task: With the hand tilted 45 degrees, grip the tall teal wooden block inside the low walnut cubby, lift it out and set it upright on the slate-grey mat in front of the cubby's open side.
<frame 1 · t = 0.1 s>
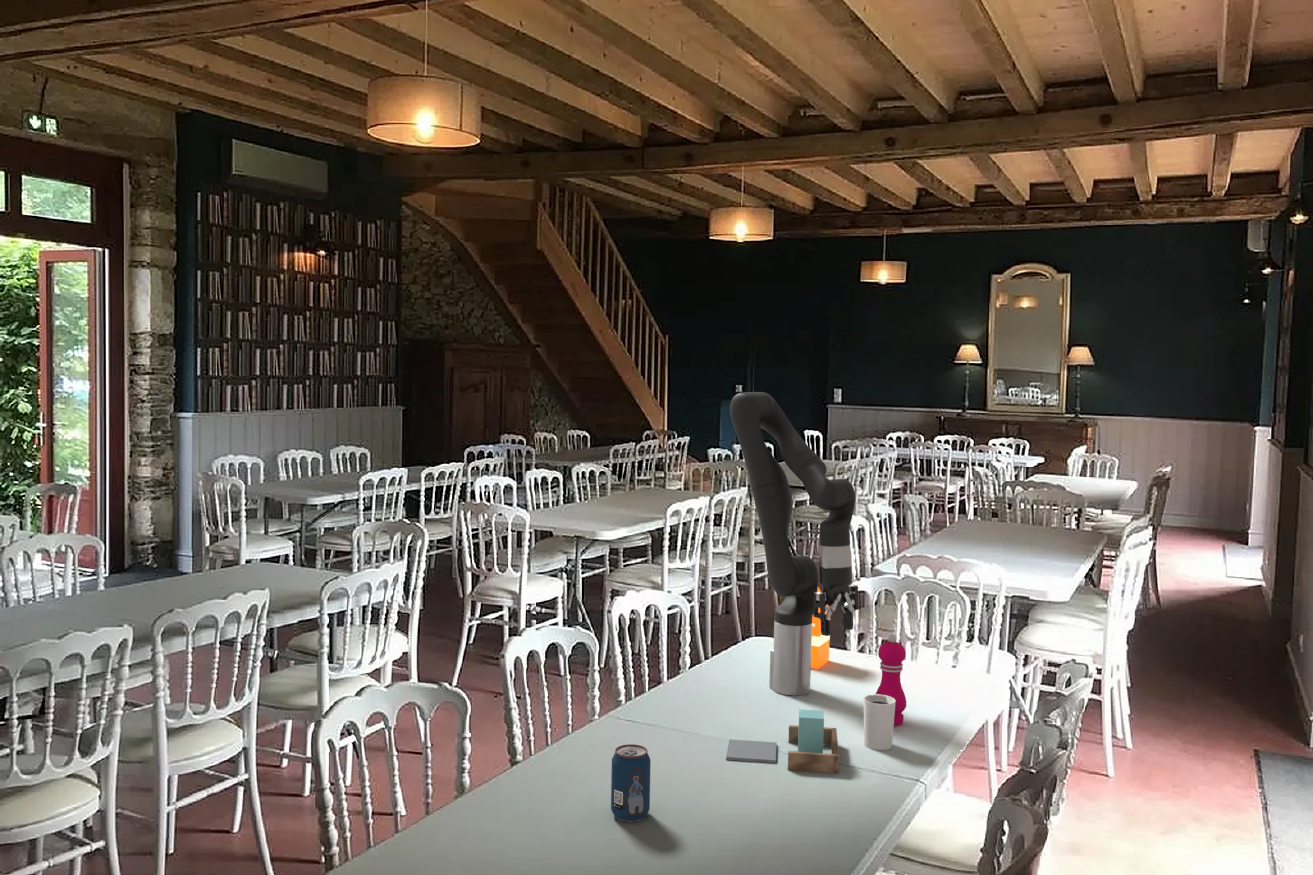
hand: (837, 632, 253), 17 cm above the table, tool pointing down, fingers open, 8 cm apart
soda can: (630, 816, 192), on the table
slate mat: (751, 752, 223), on the table
orange juice: (810, 663, 288), on the table
white paper cup: (877, 746, 228), on the table
walnut cubby: (810, 756, 221), on the table
teal block: (810, 735, 221), in the walnut cubby
pepper mill: (889, 722, 243), on the table
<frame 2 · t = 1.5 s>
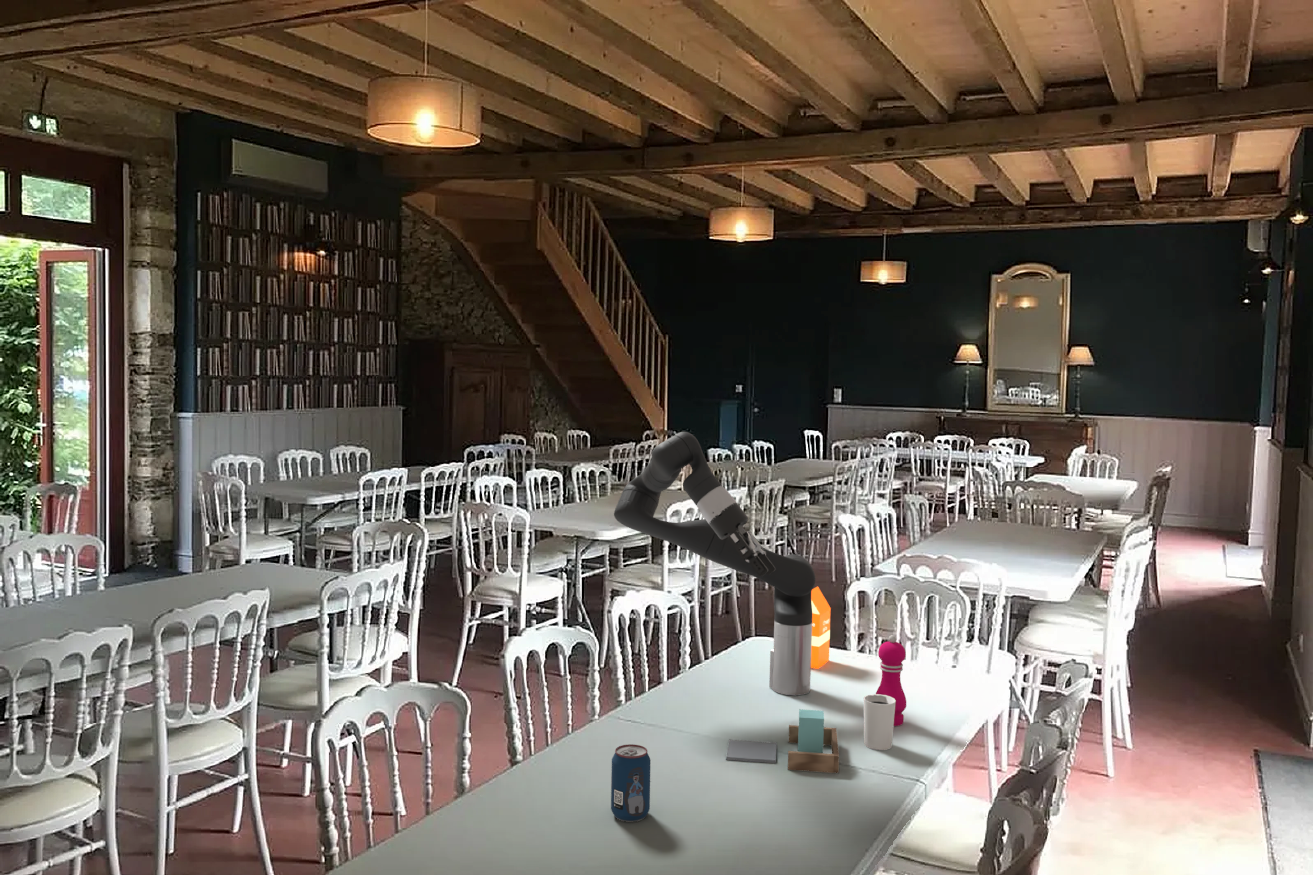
hand: (768, 573, 225), 37 cm above the table, tool tilted 45°, fingers open, 8 cm apart
nothing on the table moved.
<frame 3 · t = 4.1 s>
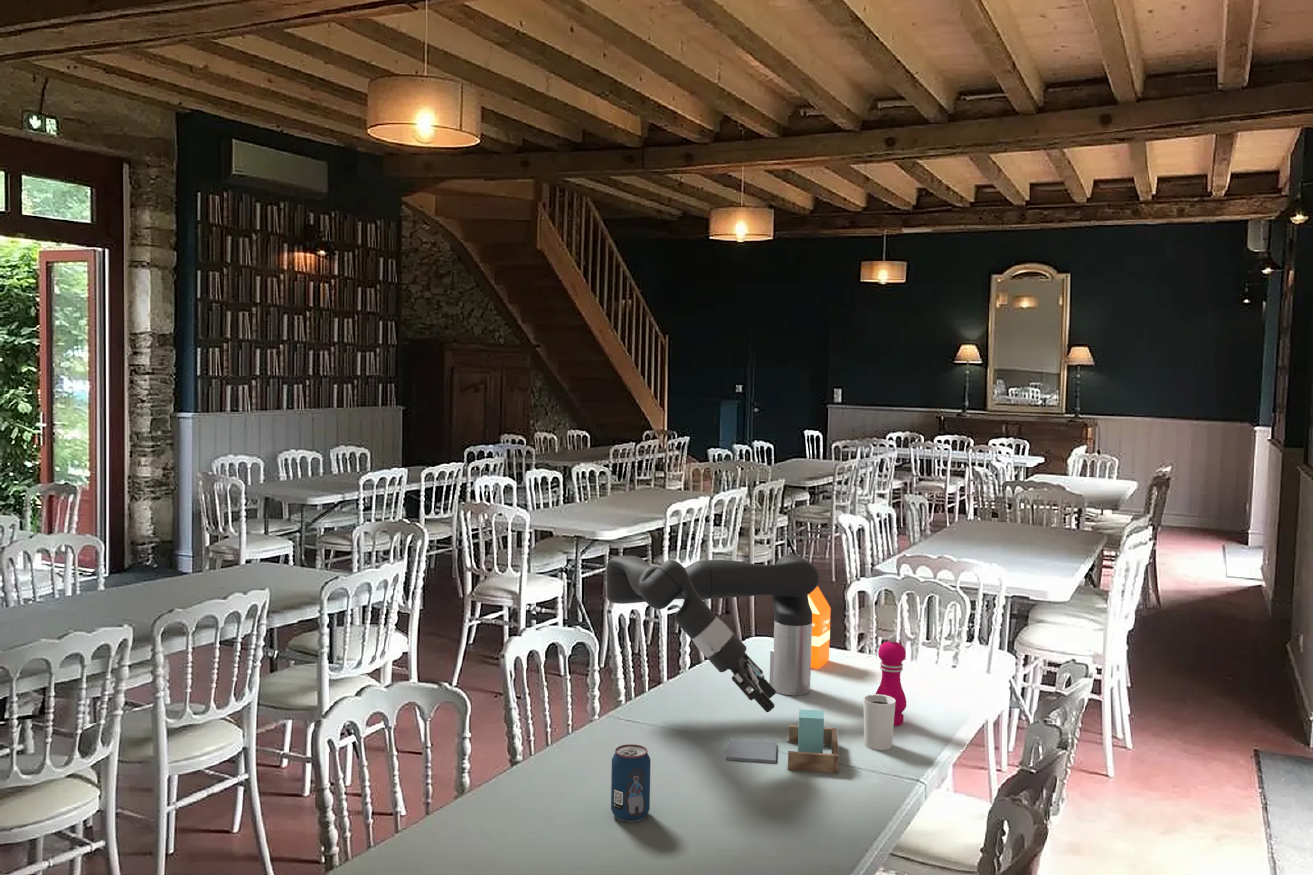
hand: (772, 702, 220), 11 cm above the table, tool tilted 45°, fingers open, 8 cm apart
nothing on the table moved.
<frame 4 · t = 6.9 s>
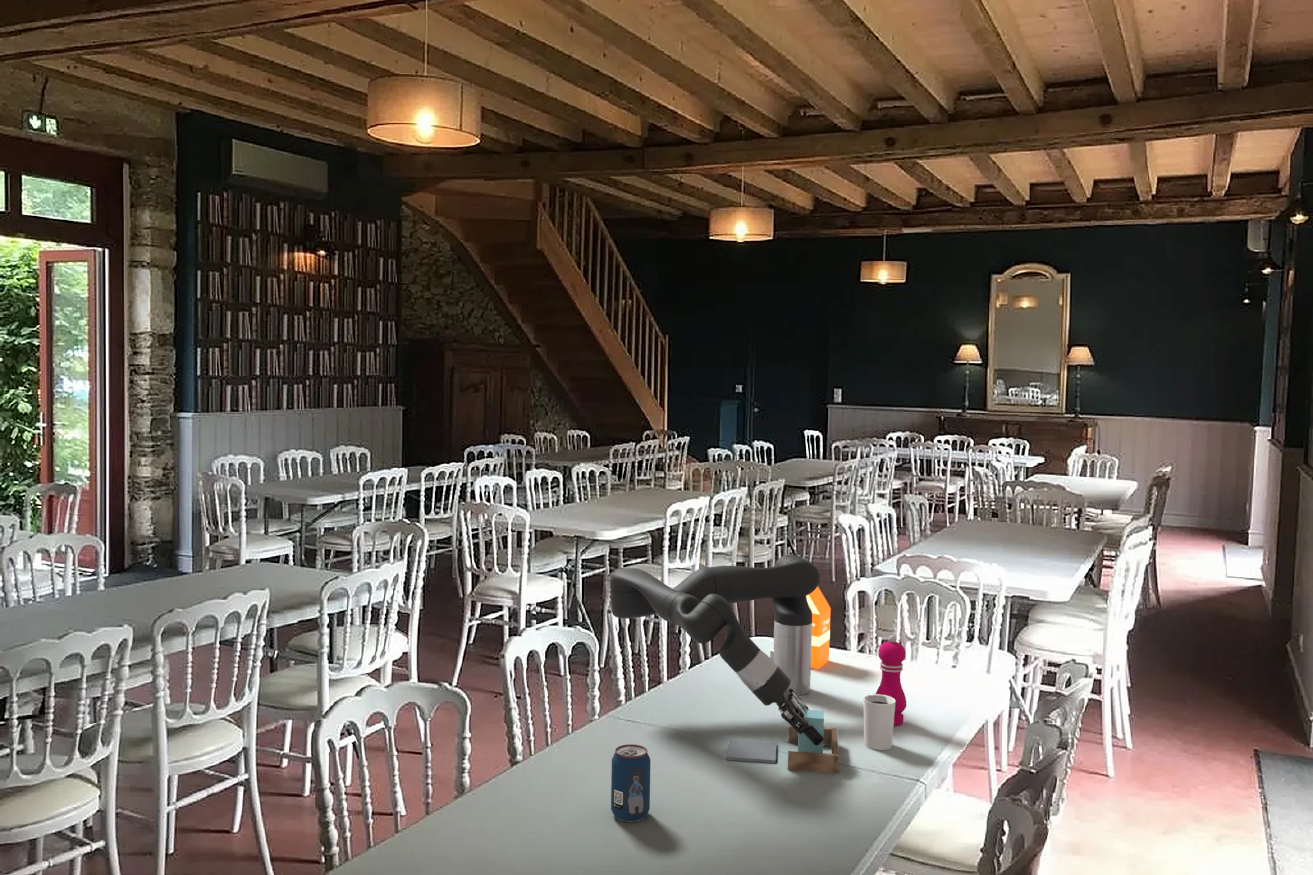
hand: (819, 737, 220), 4 cm above the table, tool tilted 45°, fingers closed on teal block, 5 cm apart
teal block: (810, 735, 221), in the walnut cubby, touching gripper
everything else where it was.
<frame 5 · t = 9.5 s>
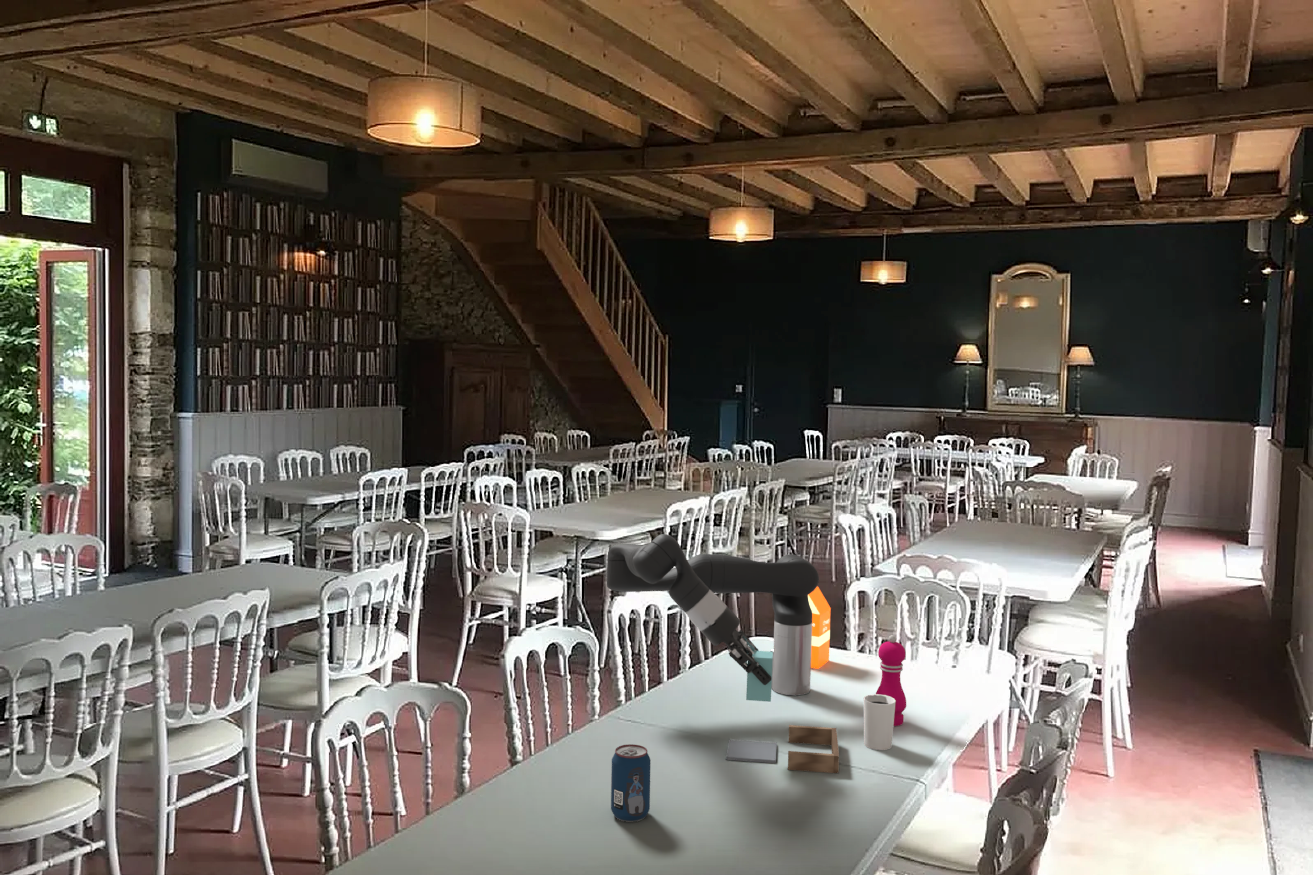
hand: (768, 677, 221), 16 cm above the table, tool tilted 45°, fingers closed on teal block, 5 cm apart
teal block: (759, 675, 221), point 16 cm above the table, touching gripper
everything else where it was.
when the fingers open (6 cm above the table, at t = 12.6 s): teal block drops 1 cm, resting on slate mat.
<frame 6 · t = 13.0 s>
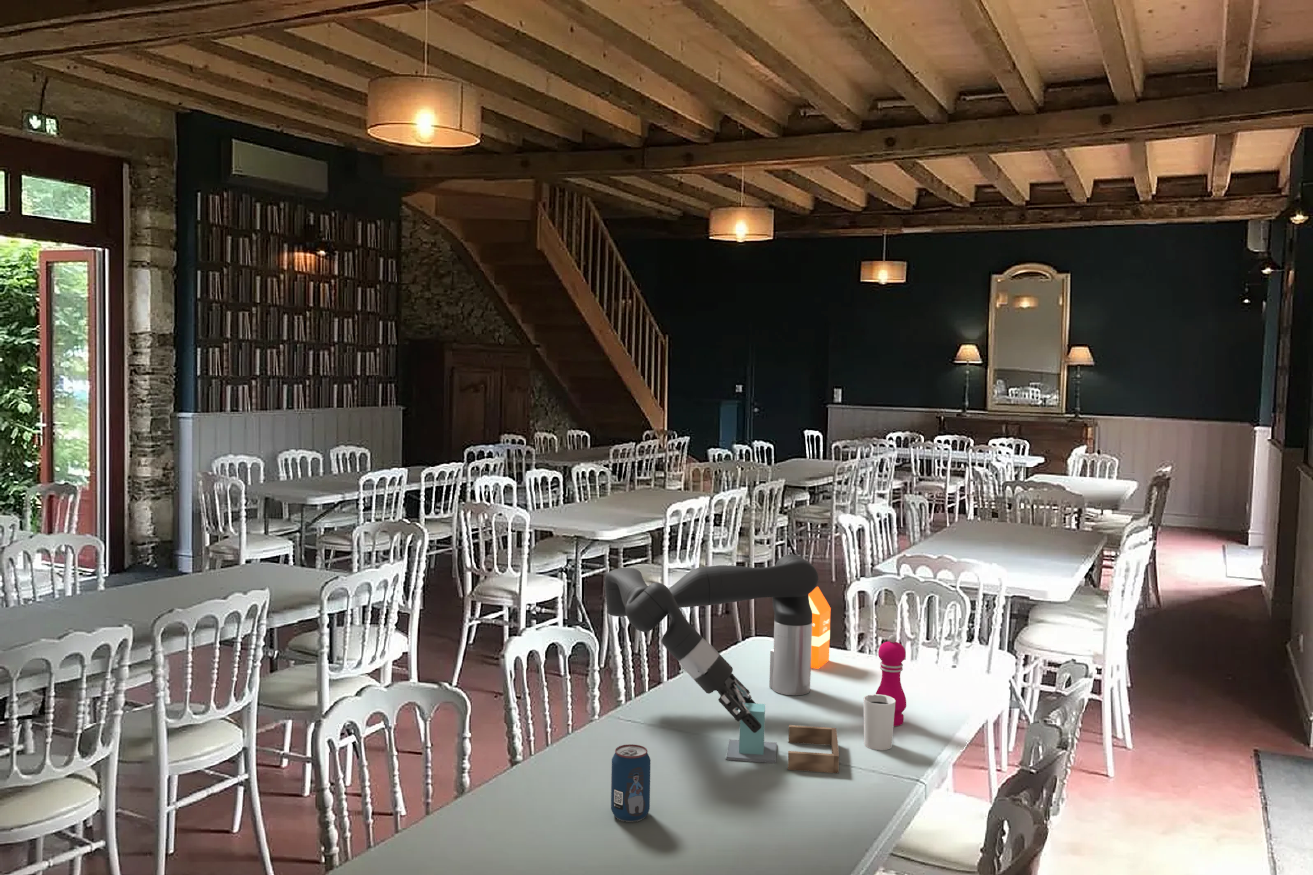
hand: (759, 722, 222), 6 cm above the table, tool tilted 45°, fingers open, 8 cm apart
teal block: (752, 728, 222), on the slate mat, point 5 cm above the table
everything else where it was.
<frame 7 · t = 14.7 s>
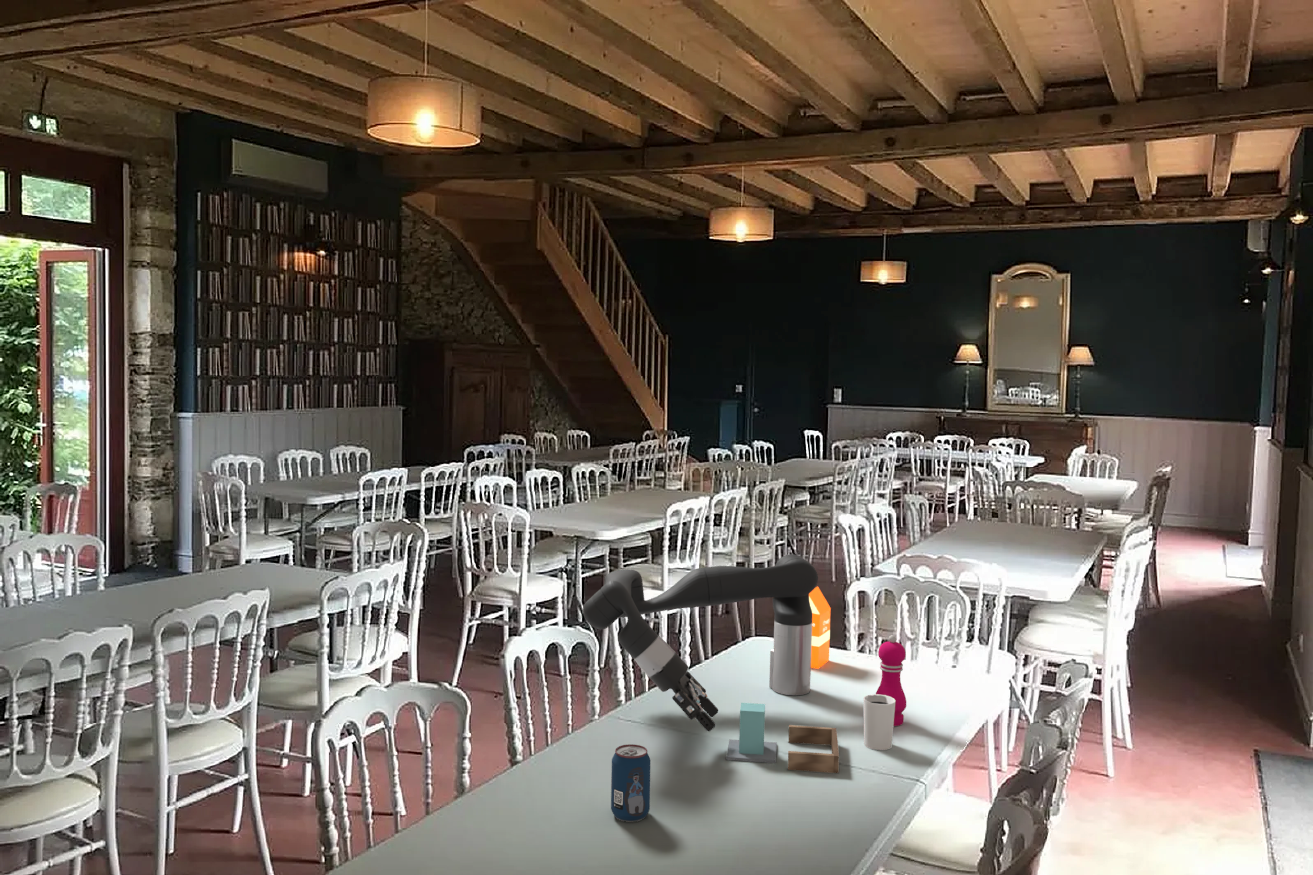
hand: (713, 721, 222), 6 cm above the table, tool tilted 45°, fingers open, 8 cm apart
nothing on the table moved.
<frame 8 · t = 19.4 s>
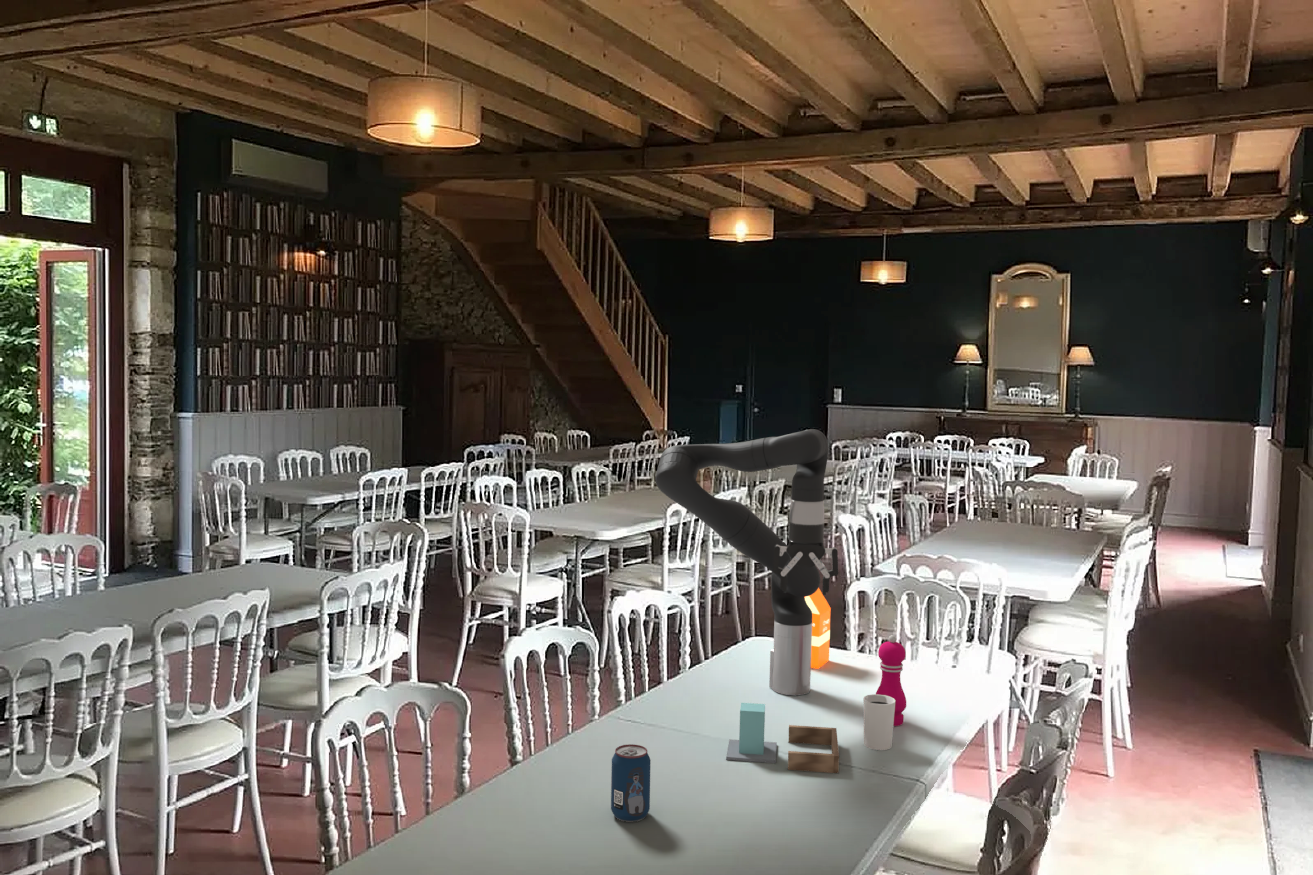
hand: (804, 593, 236), 30 cm above the table, tool pointing down, fingers open, 8 cm apart
nothing on the table moved.
at the end: teal block inside the target area on the slate mat (0.1 cm from its centre), point 5.1 cm above the slate mat's base; teal block tilted 0°; the gripper is holding nothing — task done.
